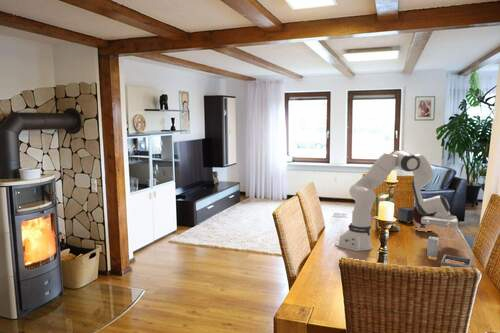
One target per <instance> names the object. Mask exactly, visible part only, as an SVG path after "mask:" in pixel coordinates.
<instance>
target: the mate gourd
mask: <svg viewBox="0 0 500 333" xmlns="http://www.w3.org/2000/svg"><path fill="white" fill-rule="evenodd" d="M412 209H413V221H415V223H417V224H419V225H420V226H419V227H420V228H426V227H427V226H428V224H422V223H421V218H422V217H424V216H430V217H434V215H435V212H434V213H430V214H428V215H422V214H420V213H419V212H418V210H417V203H414V206H413V208H412Z"/></svg>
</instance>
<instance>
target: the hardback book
mask: <svg viewBox="0 0 500 333" xmlns="http://www.w3.org/2000/svg"><path fill="white" fill-rule="evenodd" d="M375 201H376V202H375V206H376V207H375V217H376V216H378V204H379V202H380V201H392V202H393V203H394V197H393V198H392V199H391V200H390V198H389V193H388V192H382V193H380V194H379V195H376V200H375ZM374 226H375V228H376V229H375V230H378V229H379V227H378V224H377V221H376V220H375V225H374ZM377 228H378V229H377Z"/></svg>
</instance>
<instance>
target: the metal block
mask: <svg viewBox="0 0 500 333" xmlns="http://www.w3.org/2000/svg"><path fill="white" fill-rule="evenodd" d="M439 244H440V237H436V236H429V237H428V238H427V249H426V251H427V252H426V257H427V256H431V257H436V258H437V256H438V257H439Z"/></svg>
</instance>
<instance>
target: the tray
mask: <svg viewBox="0 0 500 333" xmlns="http://www.w3.org/2000/svg"><path fill="white" fill-rule="evenodd" d="M445 259H450V260H455V261H459V262H464V263H465V264H463V265H462V264H461V265H459V264H453V263H447V262H445ZM473 262H474V259H473V258H469V257H464V256H463V257H462V256H456V255H449V254H443V257H442V259H441V261H440V265H442V266H451V267H472V268H473Z"/></svg>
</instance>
